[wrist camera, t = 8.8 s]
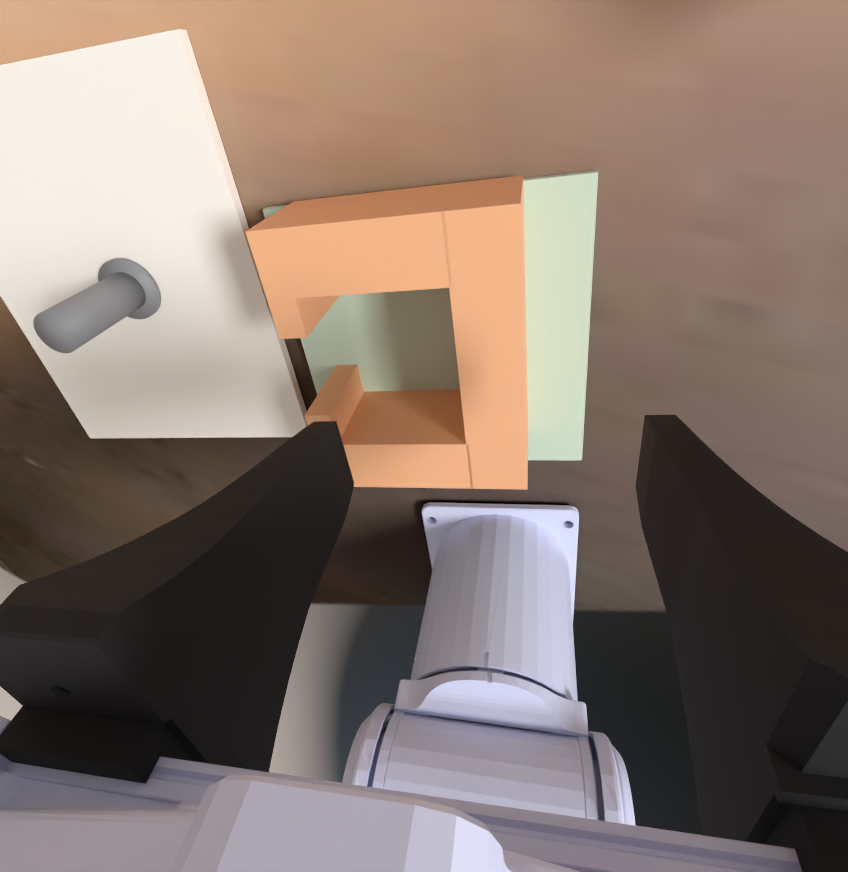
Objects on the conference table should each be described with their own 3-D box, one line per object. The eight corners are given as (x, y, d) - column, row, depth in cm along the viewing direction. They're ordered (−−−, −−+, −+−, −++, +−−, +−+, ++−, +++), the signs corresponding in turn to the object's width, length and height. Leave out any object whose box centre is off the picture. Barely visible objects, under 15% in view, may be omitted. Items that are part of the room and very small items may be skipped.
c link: (353, 431, 25) (327, 486, 22) (293, 201, 19) (245, 231, 16) (528, 429, 23) (527, 489, 20) (523, 175, 17) (520, 203, 14)
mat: (581, 454, 24) (581, 460, 24) (338, 454, 27) (336, 459, 26) (596, 169, 17) (598, 172, 17) (266, 207, 20) (262, 209, 19)
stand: (313, 431, 26) (273, 499, 22) (96, 432, 29) (26, 493, 25) (186, 29, 17) (77, 23, 13) (-115, 90, 19) (-280, 100, 16)
